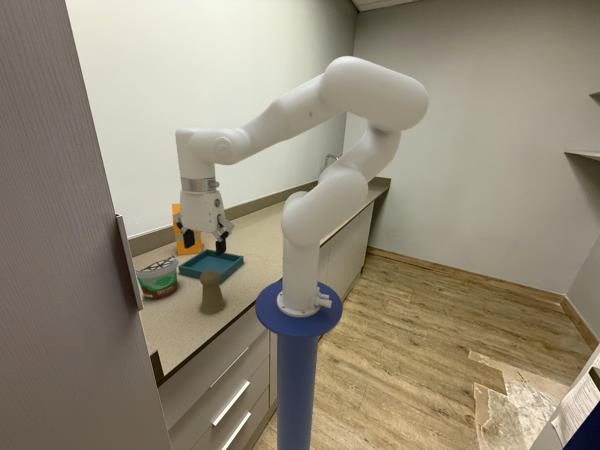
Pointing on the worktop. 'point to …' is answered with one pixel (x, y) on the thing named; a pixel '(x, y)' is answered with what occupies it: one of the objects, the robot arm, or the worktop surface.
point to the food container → (159, 278)
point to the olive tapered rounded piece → (211, 292)
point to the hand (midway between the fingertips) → (205, 250)
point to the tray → (211, 264)
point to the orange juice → (179, 236)
